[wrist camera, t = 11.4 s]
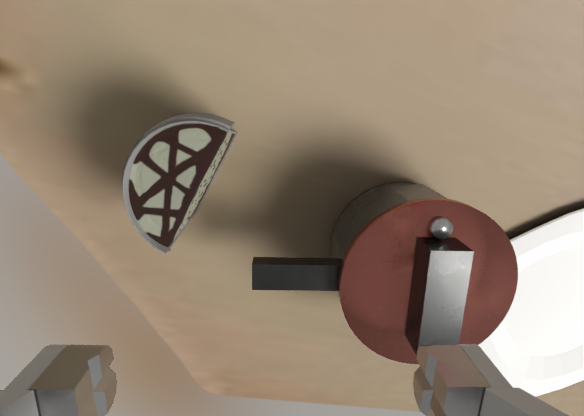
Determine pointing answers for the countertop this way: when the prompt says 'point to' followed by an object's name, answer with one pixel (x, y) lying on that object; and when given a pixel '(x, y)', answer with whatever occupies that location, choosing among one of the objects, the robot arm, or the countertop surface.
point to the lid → (427, 278)
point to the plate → (544, 310)
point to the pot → (333, 242)
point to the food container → (173, 174)
